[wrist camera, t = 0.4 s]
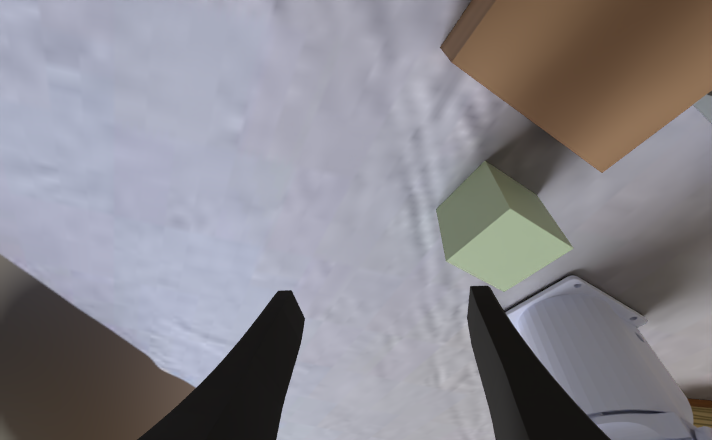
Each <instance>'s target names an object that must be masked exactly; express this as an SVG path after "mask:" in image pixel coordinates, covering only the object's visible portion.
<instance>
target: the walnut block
mask: <svg viewBox="0 0 712 440" xmlns="http://www.w3.org/2000/svg"><path fill="white" fill-rule="evenodd" d="M440 48H441V49H442V51H443V52H444V53H445V55H446V56H447V57H448V58H449V60H450V61H451V62H452V63H453V64H455V65H456V66H457V67H459V68H460V69H461V70H463V71H464V72H465V73H467V74H468V75H469V76H471V77H472V78H474V79H475V80H476V81H478V82H479V83H480V84H482V85H483V86H484V87H486V88H487V89H488V90H490V91H491V92H493V93H494V94H495V95H497V96H498V97H499V98H501V99H502V100H503V101H505V102H506V103H508V104H509V105H510V106H512V107H513V108H514V109H516V110H517V111H518V112H520V113H521V114H522V115H524V116H525V117H527V118H528V119H529V120H531V121H532V122H533V123H535V124H536V125H537V126H539V127H540V128H541V129H543V130H544V131H546V132H547V133H548V134H550V135H551V136H552V137H554V138H555V139H556V140H558V141H559V142H560V143H562V144H563V145H565V146H566V147H567V148H569V149H570V150H571V151H573V152H574V153H575V154H577V155H578V156H580V157H581V158H582V159H584V160H585V161H586V162H588V163H589V164H590V165H592V166H593V167H594V168H596V169H597V170H599V171H600V172H601V173H603V172H604V171H605V170H607V169H608V168H609V167H611V166H612V165H613V164H615V163H616V162H617V161H619V160H620V159H621V158H623V157H624V156H625V155H627V154H628V153H629V152H631V151H632V150H633V149H635V148H636V147H637V146H639V145H640V144H641V143H642V142H644V141H645V140H646V139H648V138H649V137H650V136H652V135H653V134H654V133H656V132H657V131H658V130H660V129H661V128H662V127H664V126H665V125H666V124H668V123H669V122H670V121H672V120H673V119H674V118H676V117H677V116H678V115H680V114H681V113H682V112H684V111H685V110H686V109H688V108H689V107H690V106H692V105H693V104H694V103H696V102H697V101H698V100H700V99H701V98H702V97H704V96H705V95H706V94H708V93H709V92H710V91H712V0H472V1H471V2H470V4H469V5H468V7H467V8H466V10H465V11H464V13H463V14H462V16H461V17H460V19H459V20H458V22H457V23H456V25H455V26H454V28H453V29H452V31H451V32H450V34H449V35H448V37H447V38H446V39H445V41H444V42H443V44H442V45H441V47H440Z"/></svg>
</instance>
